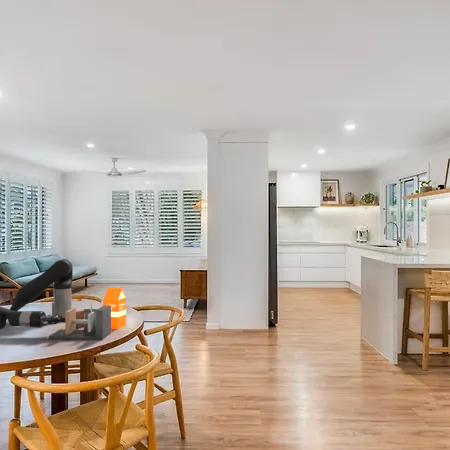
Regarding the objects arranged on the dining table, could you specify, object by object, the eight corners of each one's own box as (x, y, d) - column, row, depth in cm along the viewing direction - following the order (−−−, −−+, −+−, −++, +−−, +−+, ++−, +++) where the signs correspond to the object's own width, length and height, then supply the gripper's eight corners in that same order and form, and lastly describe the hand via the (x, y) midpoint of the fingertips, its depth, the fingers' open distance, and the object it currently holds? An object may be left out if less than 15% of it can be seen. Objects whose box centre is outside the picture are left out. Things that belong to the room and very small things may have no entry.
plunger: (65, 333, 179) (65, 311, 179) (72, 329, 187) (72, 308, 187) (86, 333, 179) (86, 311, 179) (93, 329, 187) (93, 308, 187)
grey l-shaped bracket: (48, 339, 178) (48, 309, 179) (60, 332, 190) (60, 304, 191) (102, 340, 178) (102, 310, 178) (111, 332, 190) (111, 305, 190)
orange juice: (117, 329, 197) (118, 289, 197) (102, 327, 199) (102, 288, 199) (126, 325, 204) (126, 287, 204) (111, 324, 207) (111, 286, 207)
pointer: (87, 332, 180) (87, 303, 180) (92, 328, 186) (92, 301, 186) (89, 332, 180) (90, 303, 180) (94, 328, 186) (94, 301, 186)
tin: (74, 329, 196) (74, 312, 196) (70, 328, 198) (70, 312, 198) (98, 323, 209) (98, 307, 209) (94, 322, 210) (94, 307, 211)
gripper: (39, 323, 190) (74, 324, 190) (24, 330, 177) (62, 331, 176) (39, 308, 190) (75, 309, 190) (25, 314, 177) (62, 315, 176)
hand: (68, 320), depth 183 cm, fingers closed
